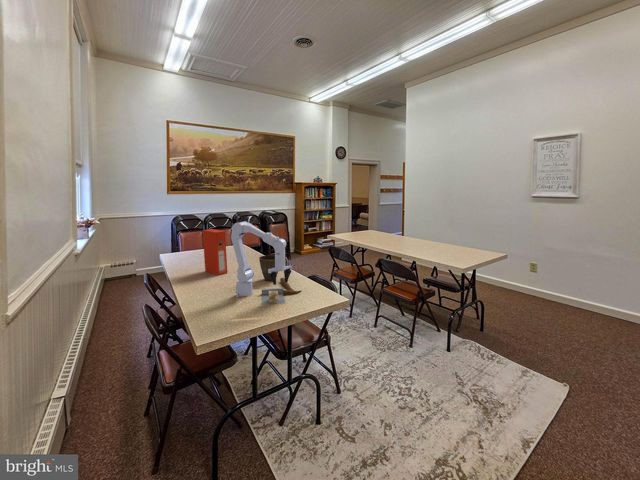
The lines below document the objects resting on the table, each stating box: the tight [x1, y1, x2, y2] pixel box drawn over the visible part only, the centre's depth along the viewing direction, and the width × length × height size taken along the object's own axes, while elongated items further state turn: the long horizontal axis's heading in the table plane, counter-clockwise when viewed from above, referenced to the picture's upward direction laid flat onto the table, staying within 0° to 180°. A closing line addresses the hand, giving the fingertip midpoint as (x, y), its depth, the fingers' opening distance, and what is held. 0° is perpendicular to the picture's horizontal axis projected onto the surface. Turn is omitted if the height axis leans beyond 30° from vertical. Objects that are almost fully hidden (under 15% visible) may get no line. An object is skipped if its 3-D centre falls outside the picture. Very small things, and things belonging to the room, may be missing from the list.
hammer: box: [279, 277, 302, 296], centre depth 197 cm, size 12×3×30 cm
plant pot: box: [258, 254, 279, 282], centre depth 214 cm, size 15×15×16 cm
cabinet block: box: [269, 291, 278, 303], centre depth 172 cm, size 5×6×5 cm
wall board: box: [261, 287, 286, 306], centre depth 177 cm, size 13×18×4 cm
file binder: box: [202, 228, 228, 276], centre depth 230 cm, size 8×17×32 cm, turn 51°
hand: (280, 283), depth 177 cm, fingers open, 7 cm apart
